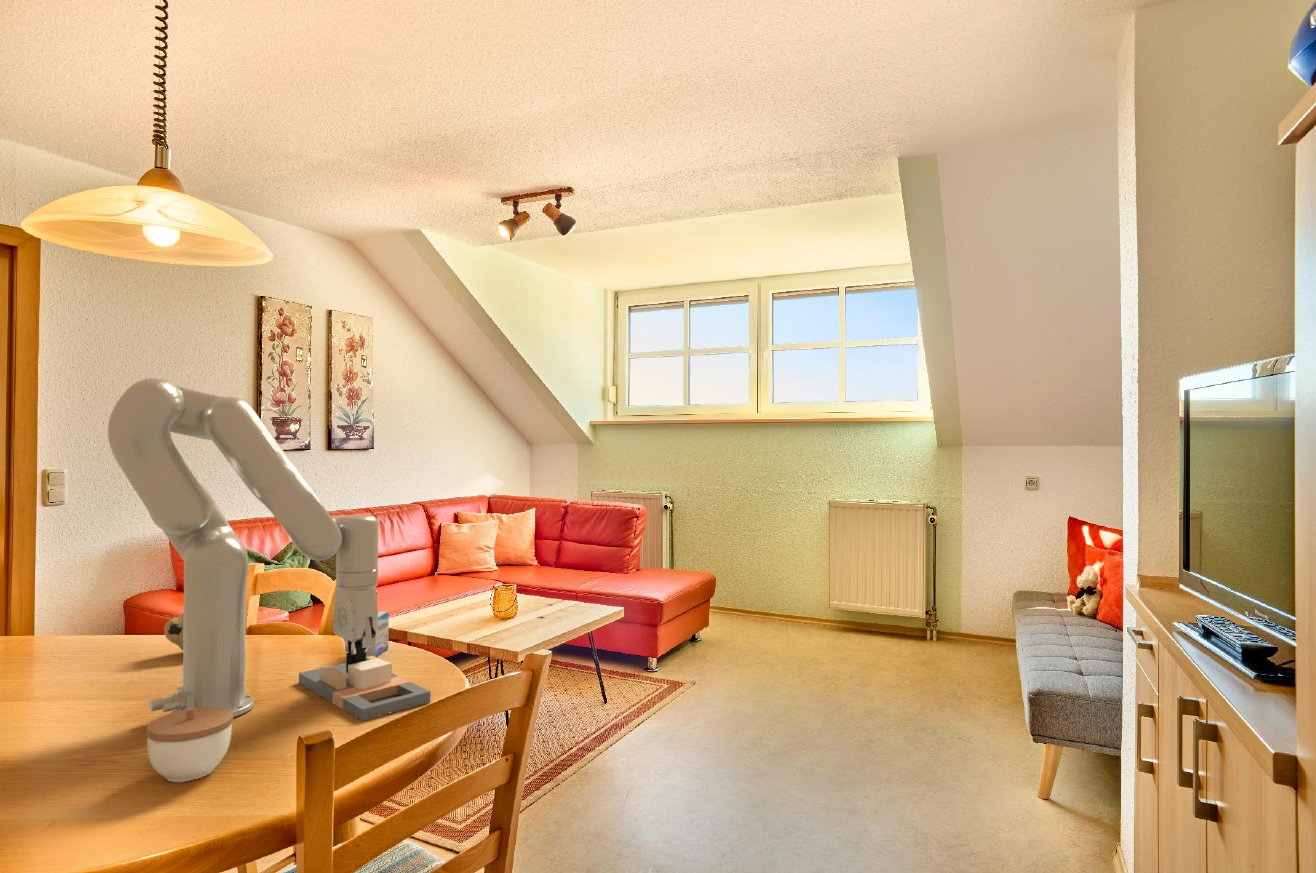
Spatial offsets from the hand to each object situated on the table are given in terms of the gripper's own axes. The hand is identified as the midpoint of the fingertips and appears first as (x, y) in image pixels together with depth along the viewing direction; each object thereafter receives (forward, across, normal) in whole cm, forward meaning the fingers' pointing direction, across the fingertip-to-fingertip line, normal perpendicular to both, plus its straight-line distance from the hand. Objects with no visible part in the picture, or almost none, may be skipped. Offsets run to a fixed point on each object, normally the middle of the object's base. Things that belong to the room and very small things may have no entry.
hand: (356, 672), depth 145 cm
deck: (+3, +3, 0) cm, 5 cm away
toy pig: (+3, -46, -15) cm, 48 cm away
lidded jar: (+3, +18, -33) cm, 38 cm away
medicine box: (+3, -19, +13) cm, 24 cm away
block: (+1, +4, 0) cm, 5 cm away
